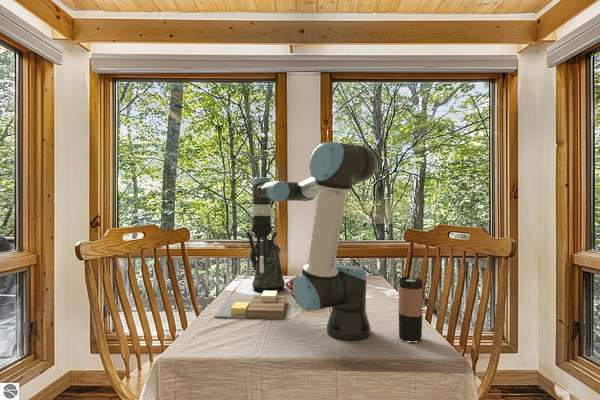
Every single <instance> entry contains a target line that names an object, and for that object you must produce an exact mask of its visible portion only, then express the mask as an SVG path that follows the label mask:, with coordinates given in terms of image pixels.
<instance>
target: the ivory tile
mask: <svg viewBox="0 0 600 400" xmlns="http://www.w3.org/2000/svg"><path fill="white" fill-rule="evenodd" d="M260 296H261V302H276V299H277V296H278V292H277V291H263V293H261V295H260Z"/></svg>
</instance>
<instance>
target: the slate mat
mask: <svg viewBox="0 0 600 400" xmlns="http://www.w3.org/2000/svg"><path fill="white" fill-rule="evenodd" d="M252 300H253V299H239V298H237V299H235V298H234V299H233V298H232V299H231V298H230V299H229V298H228V299H227V300H226V301H225V303H223V305H222V306H221V307H220V309H219V310H218V311H217V312H216V313H215V315H214V319H235V320H237V319H241V320H242V319H244V320H245V319H247V314H246V315H231V307H232V306H233V304H234V303H235V302H250V304H251V302H252Z"/></svg>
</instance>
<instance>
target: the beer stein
mask: <svg viewBox="0 0 600 400" xmlns="http://www.w3.org/2000/svg"><path fill="white" fill-rule="evenodd" d="M270 242H271V239H267V252H268V250H269V246H270ZM254 246H255V251H256V252H257V242H256V244H254ZM281 250H282V249H281V247H279V245H277V244H276V243H275V242H274V243H273V247H272V251H271V254H270V255H268V256H267V263H266V264H264V272H263V273H260V264H257V256H255V255H253V254H252V250H251V252H250V253H249V257H250V258H249V259H250V263H251V264H252V267H253V269H254V270H255V271H254V272H255V273H254V277H253V281H252V289H253V290H252V291H254V292H256V293H261V294H262V293H263V291H277V293H281V292H283V291H284V290H285V284H286V283H285V280H284V277H283V272H282V267H281V259H280V257H281V256H280V254H281ZM260 256H263V240H262V241H260ZM282 290H283V291H282ZM280 291H281V292H280Z"/></svg>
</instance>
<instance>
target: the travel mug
mask: <svg viewBox="0 0 600 400" xmlns="http://www.w3.org/2000/svg"><path fill="white" fill-rule="evenodd" d="M398 282H399V283H398V335H399V336H398V338H400V339H402V340H405V341H411V342H412V341H413V342H414V341H420V340H421V341H422V335H423V334H422V332H423V302H424V301H423V286H424V285H423V279H422V278H419V277H417V278H411V277H409V276H402V277H399V280H398ZM400 339H399V340H400Z"/></svg>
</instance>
